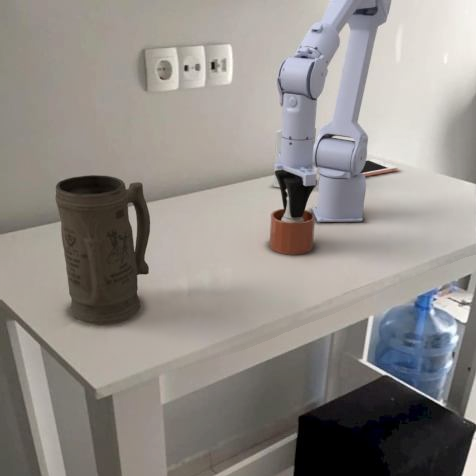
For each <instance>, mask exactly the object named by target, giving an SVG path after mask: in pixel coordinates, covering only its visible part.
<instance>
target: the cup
mask: <svg viewBox="0 0 476 476" xmlns="http://www.w3.org/2000/svg"><path fill="white" fill-rule="evenodd" d="M284 214H285V210H284V208H280V209H279V208H278V209H277V210H274V211H272V213H270V223H269V225H270V229H269V248H270V250H272V251H274V252H276V253H277V254H283V255H287V256H289V255H290V256H293V255H294V256H295V255H296V256H297V255H303V254H307V253H309V252H310V251H312V249H313V245H314V236H315V225H316V217H315V214H314V212H313V211H312V212H311V211H310V210H308V209H305V210H304V214H303V216H302V218H303V219H304V222H301V223H289V222H283V221H281V219H282V217H283V216H284Z"/></svg>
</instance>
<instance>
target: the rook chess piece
mask: <svg viewBox="0 0 476 476" xmlns="http://www.w3.org/2000/svg"><path fill="white" fill-rule="evenodd" d="M285 191H286V192H287V194H288V191H287V189H286V190H285ZM286 199H287V207H286V211H285V214H284V216H283V217H282V219H281V221H283V222H289V223H301V222H304V219H303V218H302V217H298V218H292V217H291V215H290V208H289V196H288V197H287V198H286Z"/></svg>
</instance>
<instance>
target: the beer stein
mask: <svg viewBox="0 0 476 476" xmlns="http://www.w3.org/2000/svg"><path fill="white" fill-rule="evenodd" d="M55 203H56V206H57V210H58V215H59V218H60V232H61V233H60V234H61V243H62V247H63V254H64V261H65V267H66V268H65V269H66V275H67V284H68V294H69V296H70V298H71V302H70V310H71V313H72V315H73V316H74V318H76V319H77V320H79V321H81V322H84V323H89V324H95V325H109V324H115V323H120V322H123V321H125V320H128V319H130V318H131V317H133V316H135V315H136V314H137V313H138V312H139V310H140V308H141V300H140V298H139V295H138V290H139V289H138V288H139V287H138V282H139V281H138V276H139V275H148V274H149V273H150V267H149V264H148V263H147V262H146V260H145V257H146V251H147V246H148V243H149V239H150V234H151V216H150V210H149V207H148V203H147V201H146V199H145V195H144V185H143V183H142V182H139V181H138V182H131V183H129V186H128V188H126V184H125V182H124V181H123V180H122V179H120V178H118V177H114V176H110V175H99V174H91V175H90V174H89V175H82V176H81V175H80V176H73V177H68V178H65V179H63V180H60V181H58V182H57V183H56V185H55ZM129 204H132V205H133V207H134V211H135V216H136V237H135V241H134V236H133V235H134V233H133V227H132V224H131V222H130V217H129ZM134 242H135V243H134Z"/></svg>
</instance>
